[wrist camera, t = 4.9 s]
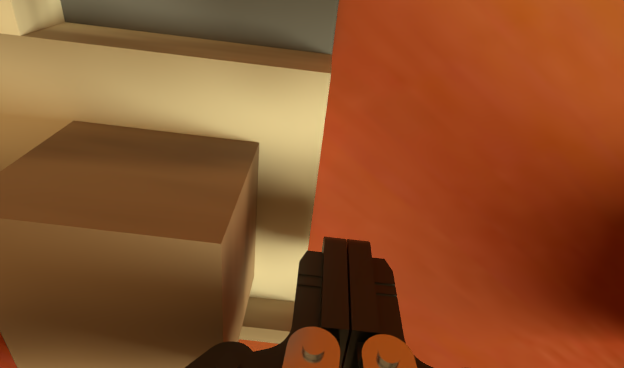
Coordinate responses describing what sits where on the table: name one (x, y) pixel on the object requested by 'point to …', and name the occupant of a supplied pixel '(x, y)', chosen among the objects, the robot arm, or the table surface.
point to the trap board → (186, 99)
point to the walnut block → (126, 247)
